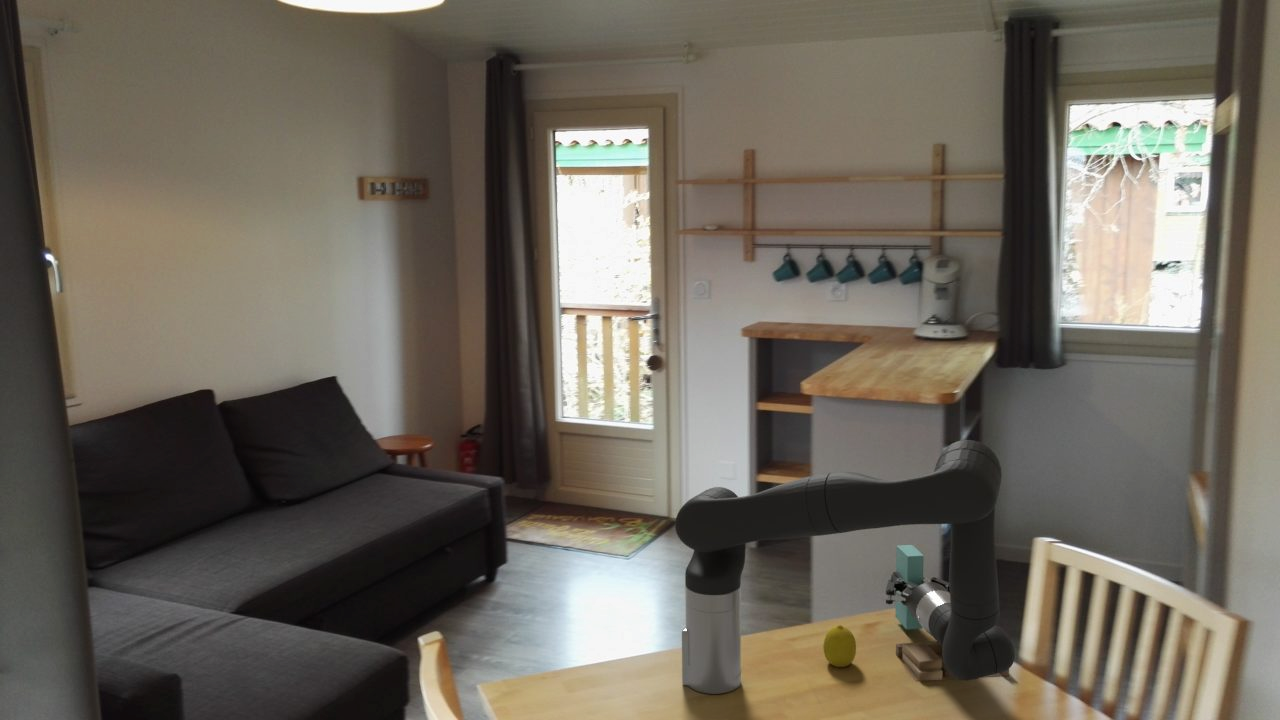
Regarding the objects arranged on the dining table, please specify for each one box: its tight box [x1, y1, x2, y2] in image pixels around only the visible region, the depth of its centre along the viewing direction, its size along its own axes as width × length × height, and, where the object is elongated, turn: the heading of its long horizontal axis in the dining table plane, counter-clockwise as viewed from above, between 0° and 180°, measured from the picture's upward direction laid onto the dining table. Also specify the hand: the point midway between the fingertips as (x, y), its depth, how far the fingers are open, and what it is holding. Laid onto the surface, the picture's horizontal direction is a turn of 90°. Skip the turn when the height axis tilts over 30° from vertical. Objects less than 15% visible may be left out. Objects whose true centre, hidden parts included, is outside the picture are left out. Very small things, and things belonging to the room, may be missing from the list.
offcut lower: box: [902, 654, 943, 682], centre depth 171 cm, size 4×8×2 cm, turn 5°
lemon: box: [823, 624, 857, 668], centre depth 174 cm, size 6×6×8 cm
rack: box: [895, 641, 1010, 682], centre depth 173 cm, size 16×10×4 cm, turn 95°
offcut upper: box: [901, 641, 942, 670], centre depth 171 cm, size 4×7×2 cm, turn 9°
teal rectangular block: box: [894, 544, 925, 630], centre depth 187 cm, size 3×6×14 cm, turn 5°
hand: (903, 576), depth 189 cm, fingers closed on teal rectangular block, 3 cm apart
